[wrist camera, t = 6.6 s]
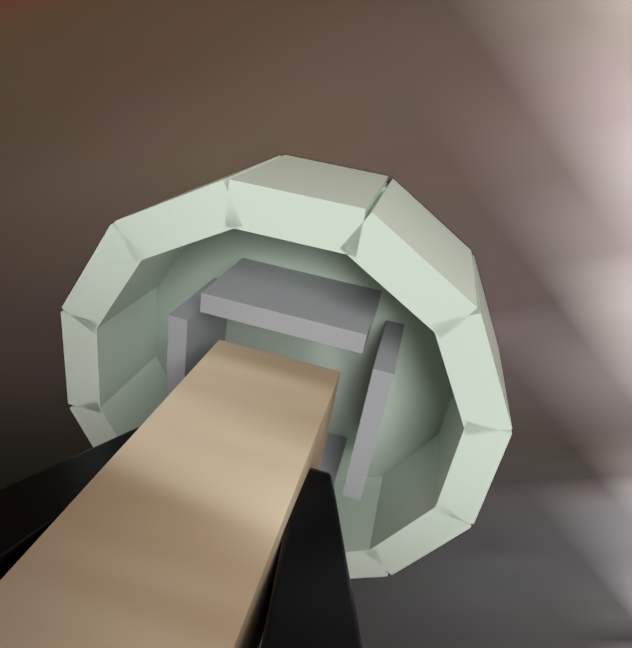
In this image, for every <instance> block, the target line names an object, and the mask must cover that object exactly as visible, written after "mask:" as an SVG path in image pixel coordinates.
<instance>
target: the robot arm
mask: <svg viewBox="0 0 632 648" xmlns="http://www.w3.org/2000/svg"><path fill="white" fill-rule="evenodd" d="M138 428H139V427H137V428H135V429H133V430H131V431H129V432H126V433H124V434H122V435H120V436H117V437H115V438H113V439H111V440H109V441H106V442H104V443H102V444H100V445H97V446H95V447H93V448H91V449H88V450H86V451H84V452H82V453H80V454H77V455H75V456H73V457H71V458H68V459H66V460H64V461H62V462H60V463H57V464H55V465H53V466H51V467H48V468H46V469H44V470H42V471H39V472H37V473H35V474H33V475H31V476H28V477H26V478H24V479H22V480H19V481H17V482H15V483H13V484H11V485H8V486H6V487H4V488H2V489H0V580H1V579H2V578H3V577H4V576H5V575H6V574H7V572H8V571H9V570H10V569H11V568H12V567H13V566H14V565H15V564H16V563H17V561H18V560H19V559H20V558H21V557H22V556H23V555H24V554H25V553H26V552H27V550H28V549H29V548H30V547H31V546H32V545H33V544H34V543H35V542H36V541H37V539H38V538H39V537H40V536H41V535H42V534H43V533H44V532H45V531H46V530H47V528H48V527H49V526H50V525H51V524H52V523H53V522H54V521H55V520H56V519H57V517H58V516H59V515H60V514H61V513H62V512H63V511H64V510H65V509H66V508H67V506H68V505H69V504H70V503H71V502H72V501H73V500H74V499H75V498H76V497H77V495H78V494H79V493H80V492H81V491H82V490H83V489H84V488H85V487H86V486H87V484H88V483H89V482H90V481H91V480H92V479H93V478H94V477H95V476H96V475H97V473H98V472H99V471H100V470H101V469H102V468H103V467H104V466H105V465H106V464H107V462H108V461H109V460H110V459H111V458H112V457H113V456H114V455H115V454H116V453H117V452H118V450H119V449H120V448H121V447H122V446H123V445H124V444H125V443H126V442H127V441H128V439H129V438H130V437H131V436H132V435H133V434H134V433H135V432H136V431H137V430H138ZM261 648H362V643H361V637H360V632H359V626H358V620H357V615H356V609H355V603H354V598H353V592H352V587H351V581H350V575H349V570H348V564H347V558H346V553H345V547H344V541H343V536H342V530H341V525H340V519H339V513H338V508H337V502H336V496H335V491H334V485H333V479H332V476H331V474H330V473H328V472H325V471H322V470H318V469H315V468H310V469H309V471H308V473H307V476H306V478H305V481H304V483H303V485H302V488H301V490H300V493H299V495H298V497H297V500H296V502H295V505H294V507H293V509H292V512H291V514H290V517H289V519H288V522H287V525H286V527H285V530H284V534H283V539H282V544H281V549H280V554H279V559H278V564H277V569H276V574H275V579H274V584H273V589H272V594H271V599H270V604H269V609H268V614H267V619H266V624H265V629H264V634H263V639H262V644H261Z"/></svg>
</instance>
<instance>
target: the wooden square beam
mask: <svg viewBox="0 0 632 648" xmlns="http://www.w3.org/2000/svg"><path fill="white" fill-rule="evenodd" d="M339 377H340V372H339V371H336V370H332V369H328V368H324V367H321V366H317V365H313V364H309V363H306V362H302V361H298V360H294V359H291V358H287V357H283V356H279V355H276V354H272V353H268V352H264V351H261V350H257V349H253V348H249V347H246V346H242V345H238V344H234V343H231V342H227V341H223V340H218V342H217V343H216V344H215V345H214V346H213V347H212V348H211V349H210V350H209V351H208V353H207V354H206V355H205V356H204V357H203V358H202V359H201V360H200V361H199V362H198V364H197V365H196V366H195V367H194V368H193V369H192V370H191V371H190V372H189V373H188V375H187V376H186V377H185V378H184V379H183V380H182V381H181V382H180V383H179V384H178V386H177V387H176V388H175V389H174V390H173V391H172V392H171V393H170V394H169V395H168V397H167V398H166V399H165V400H164V401H163V402H162V403H161V404H160V405H159V406H158V408H157V409H156V410H155V411H154V412H153V413H152V414H151V415H150V416H149V417H148V419H147V420H146V421H145V422H144V423H143V424H142V425H141V426H140V427H139V428H138V430H137V431H136V432H135V433H134V434H133V435H132V436H131V437H130V438H129V439H128V441H127V442H126V443H125V444H124V445H123V446H122V447H121V448H120V449H119V450H118V452H117V453H116V454H115V455H114V456H113V457H112V458H111V459H110V460H109V461H108V462H107V464H106V465H105V466H104V467H103V468H102V469H101V470H100V471H99V472H98V473H97V475H96V476H95V477H94V478H93V479H92V480H91V481H90V482H89V483H88V484H87V486H86V487H85V488H84V489H83V490H82V491H81V492H80V493H79V494H78V495H77V497H76V498H75V499H74V500H73V501H72V502H71V503H70V504H69V505H68V506H67V508H66V509H65V510H64V511H63V512H62V513H61V514H60V515H59V516H58V517H57V519H56V520H55V521H54V522H53V523H52V524H51V525H50V526H49V527H48V528H47V530H46V531H45V532H44V533H43V534H42V535H41V536H40V537H39V538H38V539H37V541H36V542H35V543H34V544H33V545H32V546H31V547H30V548H29V549H28V550H27V552H26V553H25V554H24V555H23V556H22V557H21V558H20V559H19V560H18V561H17V563H16V564H15V565H14V566H13V567H12V568H11V569H10V570H9V571H8V572H7V574H6V575H5V576H4V577H3V578H2V579H1V580H0V648H258V647H259V644H260V641H261V639H262V636H263V633H264V629H265V624H266V619H267V614H268V609H269V604H270V599H271V594H272V589H273V584H274V579H275V574H276V569H277V564H278V559H279V554H280V549H281V544H282V539H283V534H284V530H285V527H286V525H287V522H288V519H289V517H290V514H291V512H292V509H293V507H294V505H295V502H296V500H297V497H298V495H299V493H300V490H301V488H302V485H303V483H304V481H305V478H306V476H307V473H308V471H309V469H310V468H315V469H318V470H320V466H321V461H322V457H323V452H324V447H325V442H326V438H327V433H328V428H329V424H330V419H331V414H332V410H333V405H334V400H335V396H336V391H337V386H338V382H339Z"/></svg>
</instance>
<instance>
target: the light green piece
mask: <svg viewBox="0 0 632 648" xmlns="http://www.w3.org/2000/svg"><path fill="white" fill-rule="evenodd" d="M387 180H388V176H385V175H380V174H375V173H370V172H366V171H361V170H356V169H351V168H346V167H341V166H337V165H332V164H327V163H322V162H317V161H312V160H308V159H303V158H298V157H293V156H288V155H284V156H277V157H274V158H272V159H269V160H267V161H264V162H262V163H259V164H256V165H254V166H251V167H249V168H246V169H243V170H241V171H238V172H236V173H233V174H231V175H228V176H225V177H223V178H220V179H218V180H215V181H212V182H210V183H207V184H205V185H202V186H200V187H197V188H194V189H192V190H190V191H187V192H185V193H182V194H180V195H177V196H175V197H172V198H170V199H168V200H165V201H163V202H160V203H158V204H155V205H153V206H151V207H148V208H146V209H143V210H141V211H138V212H136V213H134V214H131V215H129V216H126V217H124V218H121V219H119V220H117V221H114V222H115V223H113V224H111V225H110V227H109V228H108V230H107V232H106V233H105V235H104V237H103V238H102V240H101V242H100V244H99V245H98V247H97V249H96V250H95V252H94V254H93V255H92V257H91V259H90V261H89V262H88V264H87V266H86V267H85V269H84V271H83V272H82V274H81V276H80V277H79V279H78V281H77V283H76V284H75V286H74V288H73V289H72V291H71V293H70V294H69V296H68V298H67V300H66V301H65V303H64V305H63V306H62V309H64V310H63V311H62V312H61V321H62V334H63V347H64V359H65V372H66V385H67V397H68V404H70V405H72V406H71V407H70V410H71V411H72V413H73V415H74V416H75V418H76V420H77V421H78V423H79V425H80V426H81V428H82V430H83V431H84V433H85V435H86V436H87V438H88V440H89V441H90V443H91V444H92V446H93V447H95V446H97V445H100V444H102V443H104V442H106V441H109V440H111V439H113V438H115V437H117V436H120V435H122V434H124V433H126V432H129V431H131V430H133V429H135V428H137V427H140V426H141V425H142V424H143V423H144V422H145V421H146V420H147V419H148V417H149V416H150V415H151V414H152V413H153V412H154V411H155V410H156V409H157V408H158V406H159V405H160V404H161V403H162V402H163V401H164V400H165V399H166V398H167V397H168V395H169V394H170V393H171V392H172V391H173V390H174V389H175V388H176V387H177V386H178V384H179V383H180V382H181V381H182V380H183V379H184V378H185V377H186V376H187V375H188V373H189V372H190V371H191V370H192V369H193V368H194V367H195V366H196V365H197V364H198V362H199V361H200V360H201V359H202V358H203V357H204V356H205V355H206V354H207V353H208V351H209V350H210V349H211V348H212V347H213V346H214V345H215V344H216V343H217V342H218V340H223V341H227V342H231V343H234V344H238V345H242V346H246V347H249V348H253V349H257V350H261V351H264V352H268V353H272V354H276V355H279V356H283V357H287V358H291V359H294V360H298V361H302V362H306V363H309V364H313V365H317V366H321V367H324V368H328V369H332V370H336V371H339V372H340V377H339V382H338V386H337V391H336V396H335V400H334V405H333V410H332V414H331V419H330V424H329V428H328V433H327V438H326V442H325V447H324V452H323V457H322V461H321V466H320V470H322V471H325V472H328V473H330V474H331V476H332V479H333V485H334V491H335V496H336V502H337V508H338V513H339V519H340V525H341V530H342V536H343V541H344V547H345V553H346V558H347V564H348V570H349V575H350V579H352V578H369V577H386V576H388V573H390V574H391V575H393V574H395V573H396V572H398V571H400V570H401V569H403V568H405V567H406V566H408V565H410V564H411V563H413V562H415V561H416V560H418V559H420V558H421V557H423V556H424V555H426V554H428V553H429V552H431V551H433V550H434V549H436V548H438V547H439V546H441V545H443V544H444V543H446V542H448V541H449V540H451V539H453V538H454V537H456V536H458V535H459V534H461V533H463V532H464V531H466V530H468V529H469V528H471V524H474V522H475V520H476V518H477V515H478V513H479V511H480V508H481V506H482V504H483V501H484V499H485V496H486V494H487V492H488V489H489V487H490V485H491V482H492V480H493V477H494V475H495V473H496V470H497V468H498V466H499V463H500V461H501V458H502V456H503V454H504V451H505V449H506V447H507V444H508V442H509V439H510V437H511V435H512V431H511V429H512V424H511V418H510V413H509V407H508V401H507V395H506V389H505V384H504V378H503V372H502V366H501V360H500V355H499V349H498V344H497V340H496V337H495V333H494V329H493V325H492V322H491V318H490V314H489V310H488V307H487V303H486V299H485V295H484V292H483V288H482V284H481V280H480V277H479V273H478V269H477V265H476V261H475V258H474V255H472V253H471V250H470V249H469V248H468V247H467V246H466V245H465V244H463V243H462V242H461V241H460V240H459V239H458V238H457V237H456V236H455V235H454V234H453V233H451V232H450V231H449V230H448V229H447V228H446V227H445V226H444V225H443V224H442V223H441V222H440V221H438V220H437V219H436V218H435V217H434V216H433V215H432V214H431V213H430V212H429V211H428V210H427V209H425V208H424V207H423V206H422V205H421V204H420V203H419V202H418V201H417V200H416V199H415V198H413V197H412V196H411V195H410V194H409V193H408V192H407V191H406V190H405V189H404V188H403V187H402V186H400V185H399V184H398V183H397V182H396V181H395V180H394V179H392V180H391V181H390V182H389V183H388V184H387Z"/></svg>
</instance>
